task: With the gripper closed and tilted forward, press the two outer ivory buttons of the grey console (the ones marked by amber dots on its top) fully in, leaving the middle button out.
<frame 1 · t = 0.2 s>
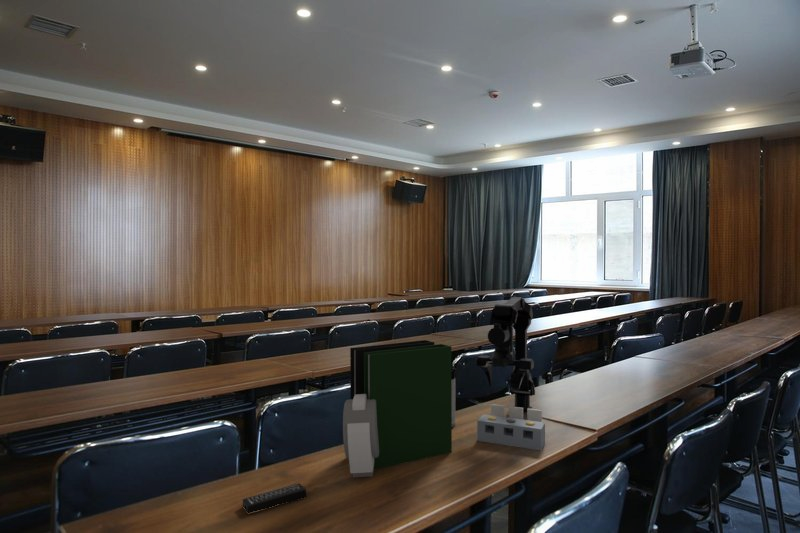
hand: (504, 388, 168), 15 cm above the table, tool pointing down, fingers open, 9 cm apart
console: (510, 441, 158), on the table
multiport hub: (275, 504, 119), on the table
binder: (400, 453, 149), on the table, touching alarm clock
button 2: (513, 419, 162), point 6 cm above the table, slide at 0.0 cm
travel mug: (446, 425, 174), on the table
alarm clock: (364, 468, 138), on the table, touching binder
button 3: (532, 421, 159), point 6 cm above the table, slide at 0.0 cm
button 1: (495, 416, 165), point 6 cm above the table, slide at 0.0 cm
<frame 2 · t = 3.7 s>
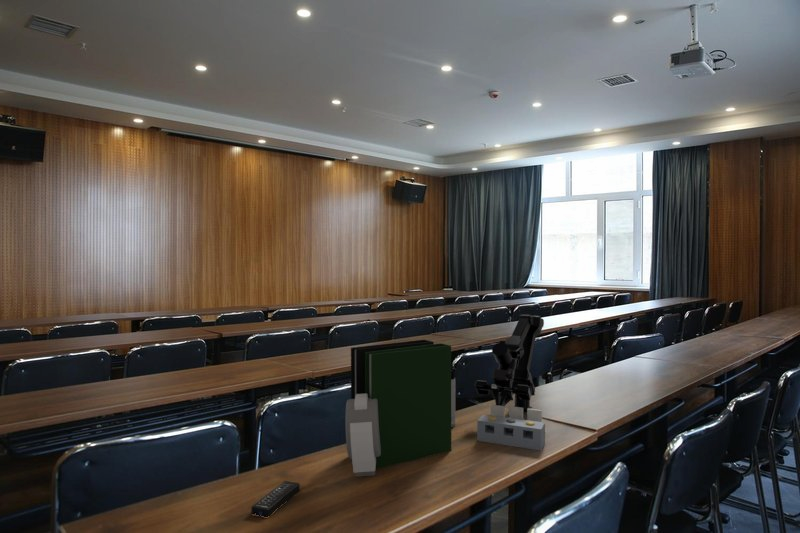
hand: (498, 411, 167), 7 cm above the table, tool tilted 45°, fingers closed, pressing on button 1
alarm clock: (366, 467, 138), on the table, touching binder
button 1: (495, 417, 164), point 6 cm above the table, slide at 0.8 cm, touching gripper
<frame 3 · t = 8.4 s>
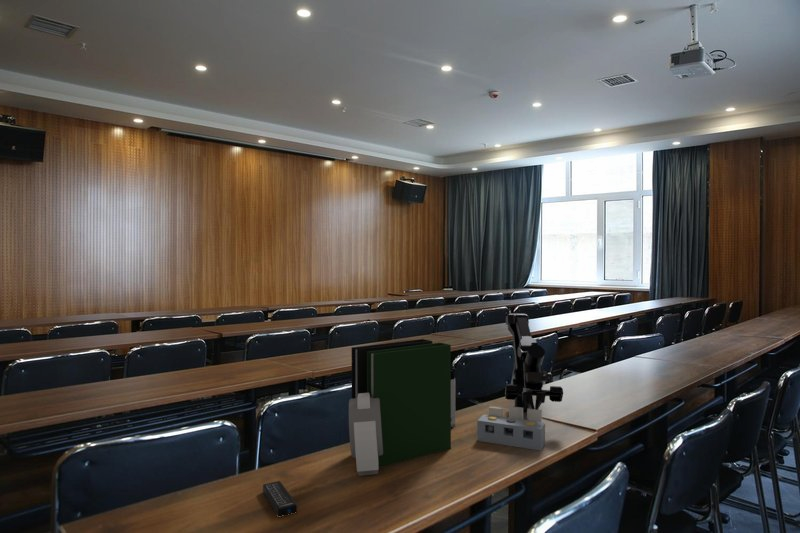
hand: (535, 415, 163), 7 cm above the table, tool tilted 45°, fingers closed
binder: (400, 451, 151), on the table, touching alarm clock
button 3: (532, 421, 159), point 6 cm above the table, slide at 0.2 cm, touching gripper
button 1: (493, 419, 162), point 6 cm above the table, slide at 3.2 cm
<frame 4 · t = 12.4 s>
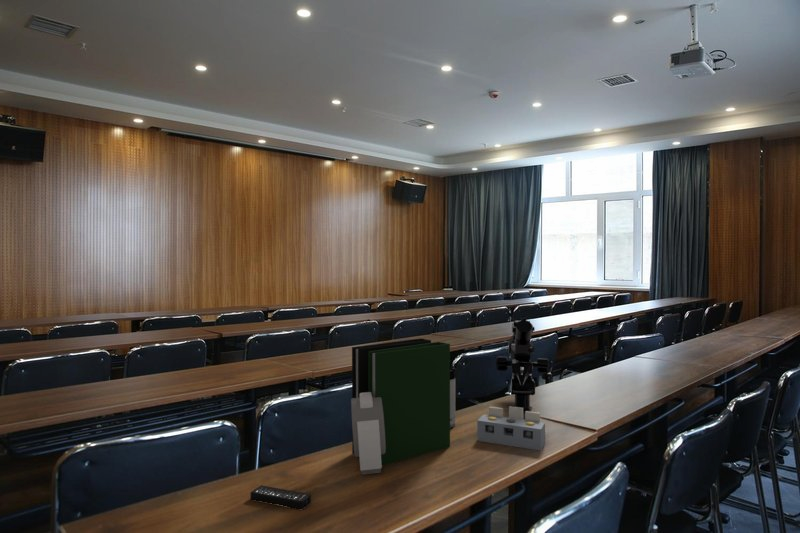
hand: (521, 384, 177), 14 cm above the table, tool tilted 45°, fingers closed
binder: (400, 450, 152), on the table, touching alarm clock
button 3: (530, 424, 157), point 6 cm above the table, slide at 3.2 cm
at the end: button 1 slide at 3.2 cm; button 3 slide at 3.2 cm; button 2 slide at 0.0 cm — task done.
